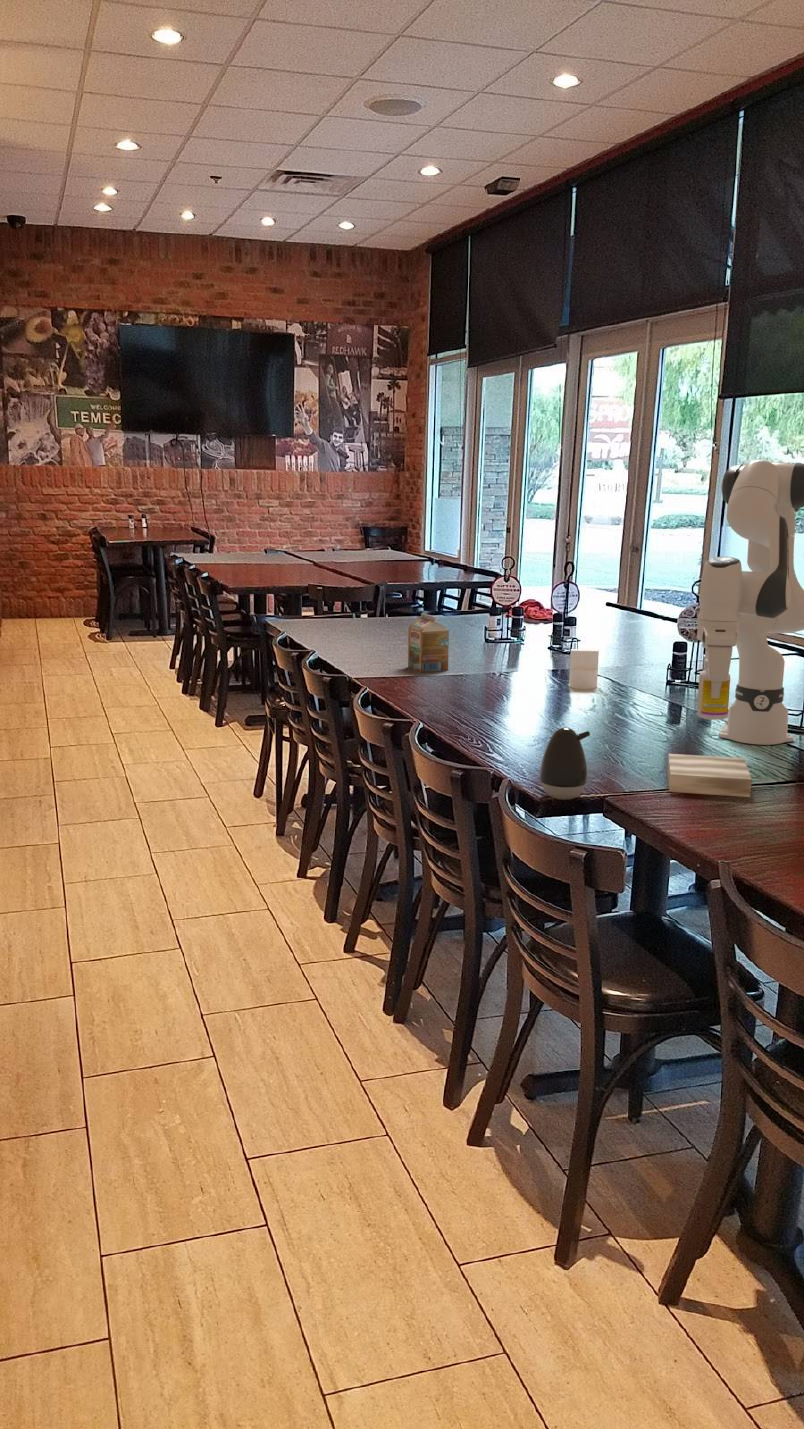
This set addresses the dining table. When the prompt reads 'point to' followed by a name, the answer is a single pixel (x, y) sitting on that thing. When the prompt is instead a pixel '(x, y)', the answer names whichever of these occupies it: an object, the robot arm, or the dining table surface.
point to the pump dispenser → (564, 765)
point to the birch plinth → (708, 775)
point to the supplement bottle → (712, 706)
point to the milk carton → (428, 645)
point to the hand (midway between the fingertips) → (713, 694)
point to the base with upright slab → (583, 668)
